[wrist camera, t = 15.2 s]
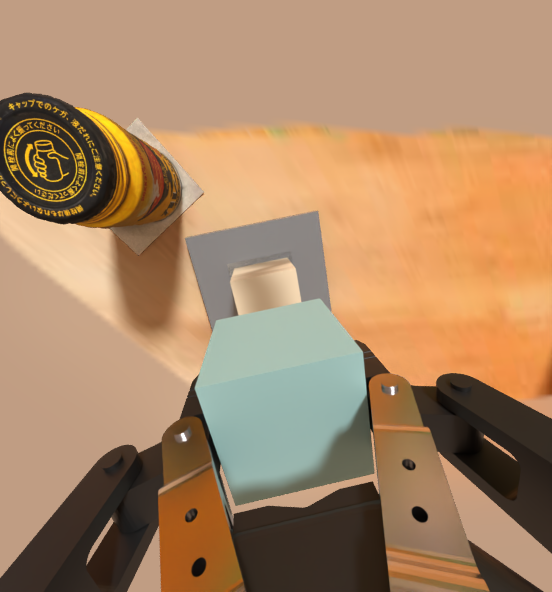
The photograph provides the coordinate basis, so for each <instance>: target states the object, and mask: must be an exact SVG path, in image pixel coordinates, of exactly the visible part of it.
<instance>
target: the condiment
mask: <svg viewBox="0 0 552 592" xmlns="http://www.w3.org/2000/svg"><path fill="white" fill-rule="evenodd" d="M0 191H1V192H2V193H3V194H4V195H5V196H6V198H8V199H9V200H10V201H12V202H13V203H14V204H15V205H16V206H17V207H18V208H20V209H21V210H23V211H24V212H26V213H28V214H30V215H32V216H34V217H36V218H38V219H42V220H46V221H50V222H55V223H58V224H68V223H70V224H77V225H81V226H86V227H90V228H97V227H98V228H105V229H106V228H109V229H111V230H112V231H113V232H114V233H115V234H116V235H117V236H118V237H119V238H120V239H121V240H122V241H123V242H124V243H125V244H127V245H128V246H129V248H130V249H132V250H133V251H134V252H135V253H136V254H137V255H138V256H139V255H140V254H141V253H142V252H143V251H144V250H145V249H146V248H147V247H148V246H149V245H150V244H151V243H152V242H153V241H154V240H155V239H156V238H157V237H158V236H159V235H160V234H161V233H162V232H163V231H165V229H167V228H168V227H169V226H170V225H171V224H172V223H173V222H174V221H175V220H176V219H177V218H178V217H179V216H180V215H181V214H182V213H183V212H184V211H185V210H186V209H187V208H188V207H189V206H190V205H191V204H192V203H193V202H195V201H196V200H197V199H198V198H199V197H200V196H201V195H202V194H203V192H204V191H203V190H202V189H201V188H200V187H199V186H198V185H197V184H196V182H195V181H194V180H193V179H192V178H191V177H190V176H189V175H188V173H187V172H186V171H185V170H184V169H183V168H182V167H181V166H180V164H179V163H178V162H177V161H176V160H175V159H174V158H173V157H172V155H171V154H170V153H169V152H168V151H167V150H166V149H165V148H164V147H163V145H162V144H161V143H160V142H159V141H158V140H157V139H156V138H155V136H154V135H152V133H151V132H150V131H149V130H148V129H147V128H146V127H145V125H144V124H143V123H142V122H141V121H140V120H139V119H138V118H136V119H135V121H133V122H132V124H131V125H130V126H129V127H128V128H127V129H126V130H125V129H123V128H122V127H121V126H119V125H118V124H117V123H115V122H114V121H112V120H111V119H109V118H107V117H106V116H104V115H101V114H99V113H97V112H94V111H91V110H88V109H83V108H79V107H73V106H72V105H69V104H68V103H66V102H64V101H62V100H60V99H57V98H53V97H51V96H48V95H42V94H32V93H23V94H19V95H15V96H13V97H10V98H6V99H3V100H1V101H0Z"/></svg>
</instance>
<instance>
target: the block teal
mask: <svg viewBox="0 0 552 592" xmlns="http://www.w3.org/2000/svg"><path fill="white" fill-rule="evenodd" d="M195 391H196V394H197V397H198V399H199V402H200V405H201V408H202V411H203V414H204V417H205V419H206V422H207V425H208V428H209V431H210V434H211V437H212V439H213V442H214V445H215V448H216V451H217V454H218V457H219V459H220V462H221V465H222V468H223V471H224V474H225V477H226V479H227V482H228V485H229V488H230V491H231V494H232V497H233V499H234V502H235V505H236V506H237V505H241V504H245V503H250V502H254V501H258V500H263V499H267V498H271V497H275V496H280V495H284V494H289V493H293V492H297V491H301V490H306V489H310V488H314V487H318V486H323V485H327V484H331V483H336V482H340V481H344V480H349V479H353V478H357V477H361V476H366V475H370V474H374V463H373V453H372V443H371V432H370V421H369V411H368V400H367V390H366V379H365V369H364V359H363V351H362V350H361V349H360V347H359V346H358V345H357V344H356V342H355V341H354V340H353V339H352V337H351V336H350V335H349V334H348V332H347V331H346V330H345V329H344V327H343V326H342V325H341V324H340V322H339V321H338V320H337V319H336V317H335V316H334V315H333V314H332V313H331V311H330V310H329V309H328V308H327V306H326V305H325V304H324V303H323V301H322V300H321V299H320V298H319V299H314V300H310V301H305V302H300V303H295V304H291V305H286V306H281V307H277V308H272V309H267V310H263V311H258V312H253V313H249V314H244V315H239V316H234V317H230V318H225V319H220V320H216V323H215V326H214V329H213V332H212V336H211V339H210V342H209V345H208V348H207V351H206V354H205V358H204V361H203V364H202V367H201V370H200V373H199V376H198V380H197V383H196V386H195Z"/></svg>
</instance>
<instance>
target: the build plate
mask: <svg viewBox="0 0 552 592" xmlns="http://www.w3.org/2000/svg"><path fill="white" fill-rule="evenodd" d="M185 240H186V244H187V247H188V250H189V254H190V257H191V260H192V264H193V267H194V270H195V274H196V277H197V280H198V284H199V287H200V291H201V294H202V297H203V301H204V304H205V307H206V311H207V314H208V317H209V321H210V324H211V328H212V331H213V329H214V326H215V323H216V320H220V319H225V318H230V317H234V316H239V315H238V311H237V307H236V304H235V300H234V296H233V292H232V288H231V284H230V281H231V277H232V274H233V271H234V268H238V267H243V266H248V265H253V264H258V263H263V262H268V261H272V260H277V259H282V258H288V259H289V260H290V262H291V263H292V264H293V266H294V267H295V268H296V273H297V279H298V285H299V290H300V296H301V302H305V301H310V300H314V299H319V298H320V299H321V300H322V301H323V303H324V304H325V305H326V306H327V308H328V309H329V310H330V311H331V305H330V297H329V290H328V282H327V275H326V267H325V260H324V252H323V244H322V237H321V229H320V222H319V214H318V211H313V212H308V213H303V214H298V215H293V216H289V217H284V218H279V219H274V220H269V221H264V222H259V223H254V224H249V225H244V226H239V227H234V228H229V229H224V230H220V231H215V232H210V233H205V234H200V235H195V236H190V237H187V238H185ZM331 313H332V312H331Z"/></svg>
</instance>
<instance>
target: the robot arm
mask: <svg viewBox="0 0 552 592" xmlns="http://www.w3.org/2000/svg"><path fill="white" fill-rule="evenodd" d="M354 341H355V342H356V344H357V345H358V346H359V347H360V349H361V350H362V351H363V359H364V369H365V379H366V390H367V400H368V411H369V421H370V429H371V431H372V432H373V436H374V446H375V457H376V467H377V477H378V486H379V494H378V492H377V490H376V488H375V486H374V484H373V482H368V483H364V484H360V485H356V486H351V487H347V488H343V489H339V490H337V491H335V492H333V493H332V494H330V495H328V496H326V497H325V498H323V499H321V500H319V501H317V502H315V503H314V504H312V505H310V506H308V507H305V508H297V507H280V506H266V507H261V508H257V509H253V510H249V511H245V512H240V513H236V514H234V519H233V516H232V512H231V509H230V505H229V502H228V498H227V495H226V492H225V488H224V485H223V481H222V478H221V475H220V465H221V462H220V459H219V457H218V454H217V451H216V448H215V445H214V442H213V439H212V437H211V434H210V431H209V428H208V425H207V422H206V419H205V417H204V414H203V411H202V408H201V405H200V402H199V399H198V397H197V394H196V391H195V386H196V383H197V380H198V376H199V375H198V376H197V377H196V378H195V379H194V380H193V382H192V384H191V387H190V391H189V393H188V396H187V397H188V398H187V399H186V402H185V405H184V408H183V411H182V414H181V417H180V419H179V420H178V421H176V422H175V423H173V424H172V425H171V426H170V427H169V428H168V429H167V430H166V431H165V433H164V434H163V437H162V442H161V443H159V444H157V445H155V446H153V447H150V448H148V449H146V450H144V451H142V452H140V453H138V452H137V450H136V448H135V447H134V446H132V445H123V446H120V447H117V448H115V449H113V450H111V451H110V452H108V453H107V454H105V455H104V456H103V457H102V458H100V459H99V460H98V461H97V463H96V464H95V465H94V466H93V467H92V468H91V470H90V471H89V472H88V473H87V474H86V476H85V477H84V478H83V479H82V481H81V482H80V483H79V484H78V485H77V487H76V488H75V489H74V490H73V491H72V493H71V494H70V495H69V496H68V498H67V499H66V500H65V501H64V502H63V504H62V505H61V506H60V507H59V508H58V510H57V511H56V512H55V513H54V514H53V515H52V517H51V518H50V519H49V520H48V521H47V523H46V524H45V525H44V526H43V528H42V529H41V530H40V531H39V532H38V533H37V535H36V536H35V537H34V538H33V540H32V541H31V542H30V543H29V544H28V545H27V547H26V548H25V549H24V550H23V552H22V553H21V554H20V555H19V556H18V558H17V559H16V560H15V561H14V562H13V564H12V565H11V566H10V567H9V568H8V570H7V571H6V572H5V573H4V575H3V576H2V577H1V578H0V592H127V591H128V588H129V586H130V584H131V582H132V580H133V578H134V576H135V574H136V572H137V570H138V568H139V565H140V563H141V561H142V559H143V557H144V555H145V553H146V551H147V549H148V547H149V545H150V543H151V541H152V538H153V536H154V534H155V532H156V530H157V528H158V526H159V539H160V540H159V541H160V573H161V592H543V591H542V590H540V589H539V588H537V587H536V586H534V585H533V584H531V583H530V582H529V581H527V580H526V579H524V578H523V577H521V576H520V575H519V574H517V573H516V572H514V571H513V570H511V569H510V568H508V567H507V566H505V565H504V564H503V563H501V562H500V561H498V560H496V559H495V558H494V557H492V556H491V555H489V554H488V553H486V552H485V551H483V550H482V549H481V548H479V547H478V546H476V545H475V544H473V543H472V542H471V541H469V540H467V537H466V534H465V531H464V528H463V525H462V522H461V519H460V516H459V513H458V511H457V508H456V505H455V502H454V499H453V496H452V493H451V490H450V487H449V484H448V481H447V478H446V475H445V473H444V469H443V466H442V463H441V461H440V458H439V455H438V452H440V454H441V455H442V456H443V457H444V458H446V459H447V460H448V461H449V462H450V463H451V464H452V465H453V466H455V467H456V468H457V469H458V470H459V471H460V472H461V473H462V474H463V475H465V476H466V477H467V478H468V479H469V480H470V481H471V482H472V483H474V484H475V485H476V486H477V487H478V488H479V489H480V490H481V491H483V492H484V493H485V494H486V495H487V496H488V497H489V498H490V499H491V500H493V501H494V502H495V503H496V504H497V505H498V506H499V507H501V509H503V510H504V511H505V512H506V513H507V514H508V515H510V517H512V518H513V519H514V520H515V521H516V522H517V523H518V524H519V525H520V526H522V527H523V528H524V529H525V530H526V531H527V532H528V533H529V534H531V535H532V536H533V537H534V538H535V539H536V540H537V541H538V542H539V543H541V544H542V545H543V546H544V547H545V548H546V549H547V550H548V551H550V552H551V553H552V419H551V418H549V417H547V416H545V415H543V414H541V413H539V412H537V411H536V410H534V409H532V408H530V407H528V406H526V405H524V404H522V403H521V402H519V401H517V400H515V399H513V398H511V397H509V396H507V395H505V394H504V393H502V392H500V391H498V390H496V389H494V388H492V387H490V386H488V385H486V384H485V383H483V382H481V381H479V380H477V379H475V378H473V377H470V376H467V375H464V374H457V373H450V374H444V375H442V376H440V377H439V378H438V379H437V381H436V386H412V385H410V383H409V382H408V381H407V380H406V379H405V378H403V377H401V376H399V375H395V374H390V372H389V371H388V370H387V369H386V368H385V367H384V365H383V364H382V363H381V362H380V361H379V360H378V359H377V357H375V355H374V354H373V353H372V352H371V350H370V349H369V348H368V347H367V346H366V345H365V344H364V343H362V342H360V341H357V340H354ZM484 435H486V436H487V437H489V438H490V439H491V440H493V441H494V442H496V443H497V444H499V445H500V446H502V447H503V448H504V449H506V450H507V451H508V452H510V453H511V454H512V455H513V456H514V457H515V459H516V460H517V461H518V462H517V461H516V460H514V459H513V458H511V457H510V456H509V455H507V454H506V453H504V452H503V451H502V450H500V449H499V448H497V447H496V446H494V445H493V444H491V443H490V442H489V441H487V440H486V439H485V438H484ZM111 517H112V519H113V521H114V522H113V524H112V526H111V527H110V529H109V530H108V532H107V534H106V535H105V537H104V538H103V540H102V542H101V543H100V545H99V546H98V548H97V550H96V551H95V553H94V554H93V556H92V558H91V559H90V561H89V562H88V564H87V566H86V563H87V558H88V554H89V552H90V550H91V548H92V546H93V545H94V543H95V541H96V540H97V538H98V537H99V535H100V534H101V532H102V531H103V529H104V527H105V526H106V524H107V523H108V521H109V520H110V518H111Z"/></svg>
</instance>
